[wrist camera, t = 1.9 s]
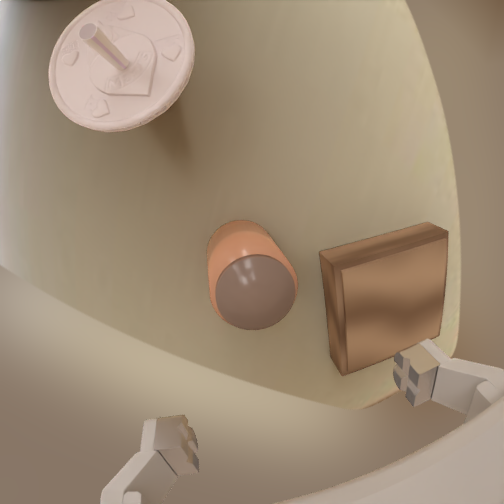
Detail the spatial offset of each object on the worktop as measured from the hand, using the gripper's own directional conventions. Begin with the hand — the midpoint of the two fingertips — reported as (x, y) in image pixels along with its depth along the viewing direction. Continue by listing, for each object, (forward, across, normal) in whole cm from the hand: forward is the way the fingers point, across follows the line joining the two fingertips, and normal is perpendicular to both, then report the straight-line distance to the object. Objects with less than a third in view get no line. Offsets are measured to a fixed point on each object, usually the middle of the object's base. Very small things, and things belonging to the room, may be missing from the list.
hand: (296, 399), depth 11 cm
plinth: (+14, -11, +6) cm, 19 cm away
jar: (+14, 0, -1) cm, 14 cm away
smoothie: (+14, +4, -14) cm, 20 cm away
